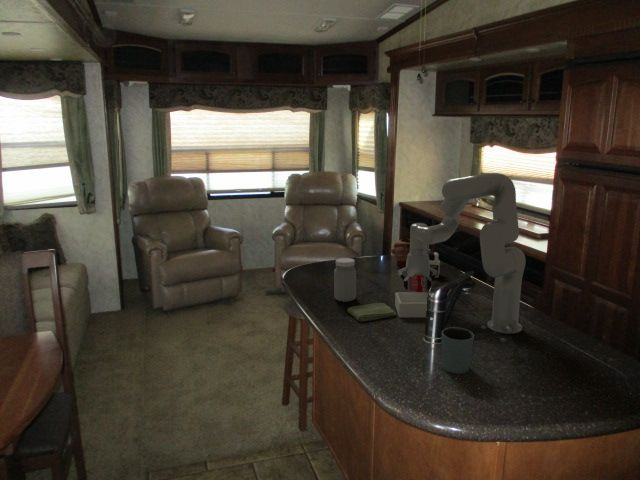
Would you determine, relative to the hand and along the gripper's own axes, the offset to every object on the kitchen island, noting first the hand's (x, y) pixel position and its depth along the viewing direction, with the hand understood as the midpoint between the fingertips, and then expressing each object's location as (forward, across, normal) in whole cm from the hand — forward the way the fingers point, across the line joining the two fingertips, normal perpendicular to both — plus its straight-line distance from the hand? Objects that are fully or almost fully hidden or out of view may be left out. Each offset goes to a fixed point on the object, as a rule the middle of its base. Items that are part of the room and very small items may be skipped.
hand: (417, 288), depth 237 cm
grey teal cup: (+4, -2, +67) cm, 67 cm away
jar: (+5, +32, 0) cm, 32 cm away
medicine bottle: (+5, -13, -35) cm, 38 cm away
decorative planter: (+5, -4, -54) cm, 54 cm away
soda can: (+5, 0, 0) cm, 5 cm away
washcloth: (+5, +22, +19) cm, 29 cm away
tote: (+4, +4, +16) cm, 17 cm away
